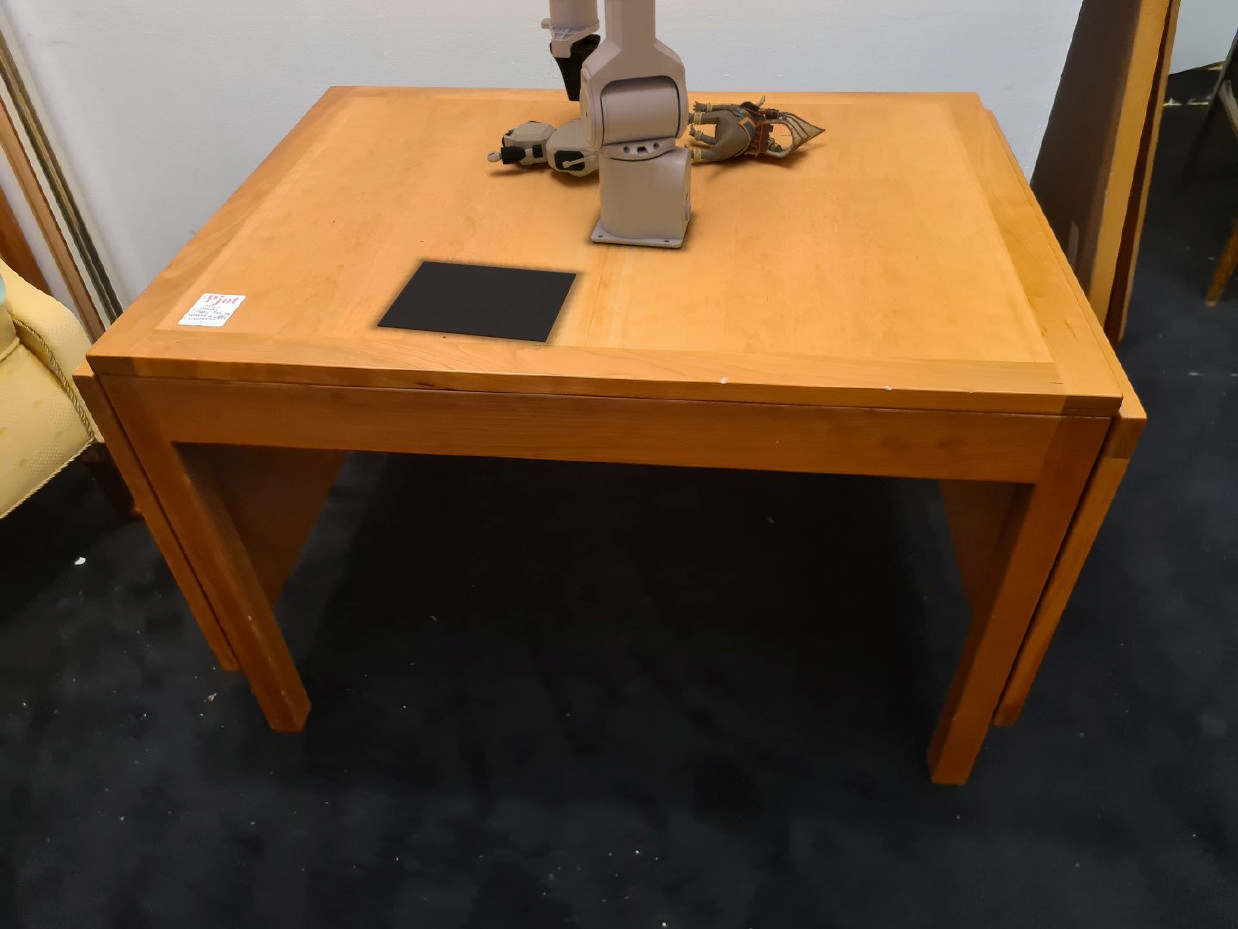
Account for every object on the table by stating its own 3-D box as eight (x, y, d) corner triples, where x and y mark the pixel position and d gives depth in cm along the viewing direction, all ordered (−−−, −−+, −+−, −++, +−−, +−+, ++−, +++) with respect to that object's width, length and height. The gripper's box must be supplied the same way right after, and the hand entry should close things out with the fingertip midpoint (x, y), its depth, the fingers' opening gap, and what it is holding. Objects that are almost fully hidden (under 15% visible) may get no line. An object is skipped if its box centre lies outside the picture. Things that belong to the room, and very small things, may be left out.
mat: (576, 274, 86) (576, 273, 86) (545, 341, 77) (545, 340, 77) (423, 261, 89) (423, 260, 89) (377, 325, 80) (377, 324, 80)
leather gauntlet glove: (696, 77, 112) (828, 83, 110) (693, 125, 116) (821, 132, 114) (680, 126, 97) (833, 134, 95) (677, 179, 101) (825, 188, 99)
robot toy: (485, 184, 104) (602, 190, 99) (477, 146, 101) (598, 151, 97) (525, 144, 113) (635, 148, 108) (519, 109, 110) (632, 111, 105)
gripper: (554, -36, 108) (561, 78, 117) (522, -4, 97) (532, 118, 106) (610, -35, 106) (612, 80, 116) (583, -2, 96) (589, 121, 105)
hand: (578, 99), depth 111 cm, fingers closed
